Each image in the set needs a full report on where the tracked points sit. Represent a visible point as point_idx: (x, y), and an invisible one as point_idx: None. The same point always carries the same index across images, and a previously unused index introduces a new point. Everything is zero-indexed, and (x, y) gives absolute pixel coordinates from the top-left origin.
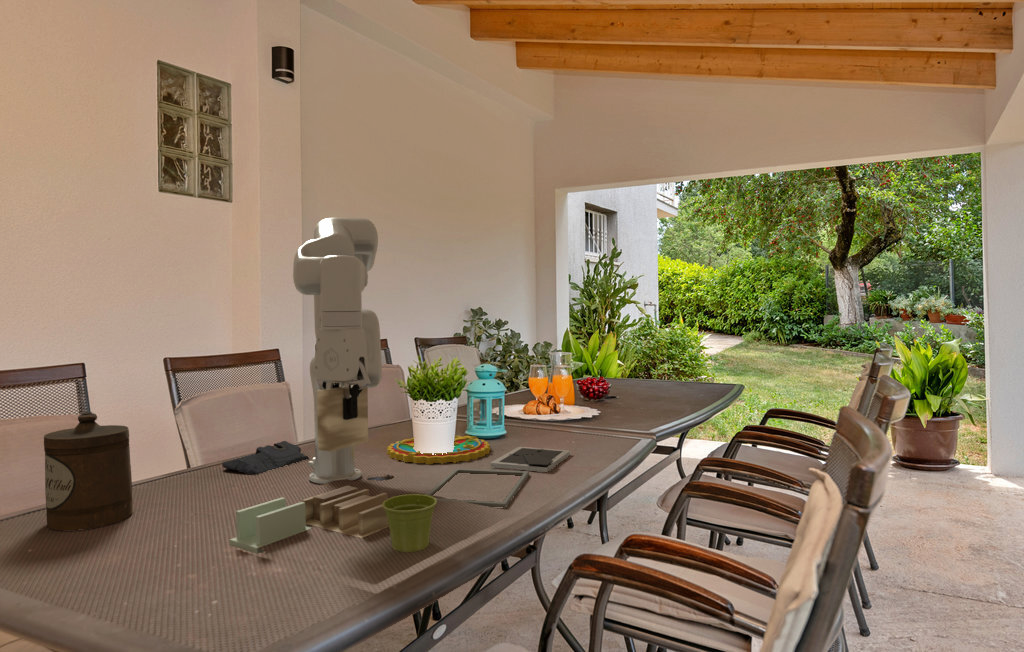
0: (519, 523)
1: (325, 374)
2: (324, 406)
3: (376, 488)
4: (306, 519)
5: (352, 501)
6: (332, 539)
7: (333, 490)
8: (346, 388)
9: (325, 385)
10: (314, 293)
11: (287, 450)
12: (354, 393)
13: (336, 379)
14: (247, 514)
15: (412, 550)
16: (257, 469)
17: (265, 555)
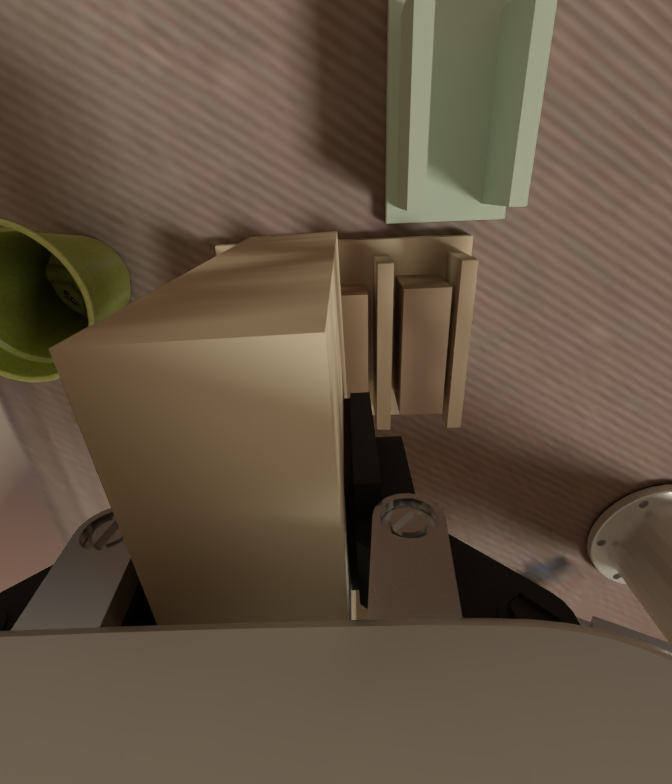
0: (69, 507)
1: (344, 758)
2: (217, 284)
3: (494, 524)
4: (447, 255)
5: (348, 347)
6: (302, 221)
7: (445, 363)
8: (75, 594)
9: (508, 614)
10: None
11: None
12: (37, 574)
13: (27, 657)
14: (526, 20)
15: (41, 252)
16: None
17: (356, 8)
